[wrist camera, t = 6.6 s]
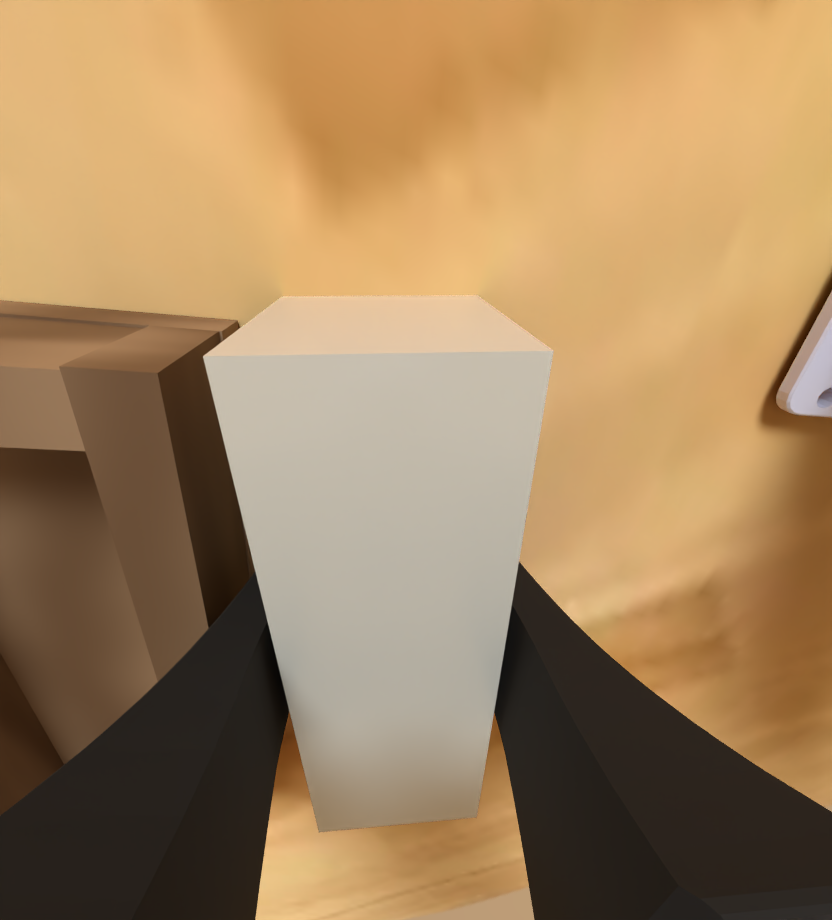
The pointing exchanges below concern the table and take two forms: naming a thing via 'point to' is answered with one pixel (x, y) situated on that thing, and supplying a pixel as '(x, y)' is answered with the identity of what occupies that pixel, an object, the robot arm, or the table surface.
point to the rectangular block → (385, 532)
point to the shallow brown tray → (104, 521)
